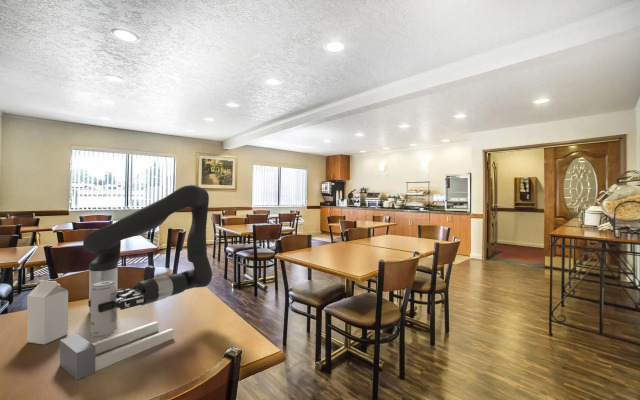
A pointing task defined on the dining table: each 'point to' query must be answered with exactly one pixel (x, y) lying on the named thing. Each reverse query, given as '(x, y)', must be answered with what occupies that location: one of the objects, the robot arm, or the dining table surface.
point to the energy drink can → (106, 320)
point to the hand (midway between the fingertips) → (93, 306)
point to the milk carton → (47, 313)
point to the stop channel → (81, 353)
